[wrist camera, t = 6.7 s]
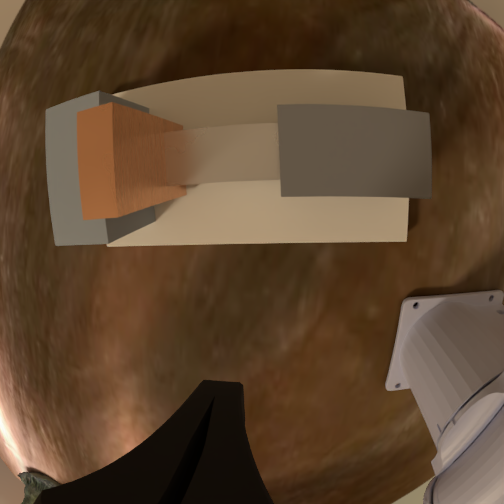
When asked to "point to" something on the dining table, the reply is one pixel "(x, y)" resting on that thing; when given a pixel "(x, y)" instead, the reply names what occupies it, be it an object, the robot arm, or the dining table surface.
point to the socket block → (67, 178)
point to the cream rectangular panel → (298, 159)
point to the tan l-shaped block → (162, 158)
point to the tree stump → (35, 485)
